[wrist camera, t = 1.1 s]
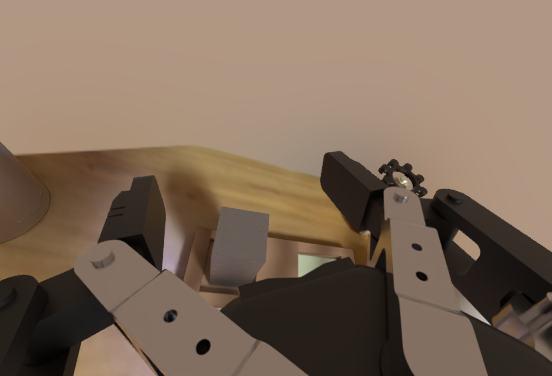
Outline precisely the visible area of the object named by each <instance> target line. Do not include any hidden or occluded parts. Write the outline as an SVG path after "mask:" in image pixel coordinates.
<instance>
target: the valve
mask: <svg viewBox="0 0 552 376" xmlns="http://www.w3.org/2000/svg"><path fill="white" fill-rule="evenodd" d="M389 166H391V168H390V167H389ZM411 170H412V166H411V165H410V164H408V163H406V164H405V165H404V166H402V167H401V166H399V163H398V161H397V160H395V159H392V160H391V161H390V162H389V163H388V164H387V165H386V164H384V165H382V166H381V167H380V168H379V170H378V171H379V173H380V174H382V173H383V172H384V173H386V175H385V176H384V177H383V179H382V180H381V181H382V182H384V183H385V184H386V185H387V186H388V187H401V188H406V186H407V185H408V184H409V180H408V178H409V179H410V180H411V182H412V184H413V189H412V190H410V191H412V192H413V193H415V194H416V193H418V195H417V194H416V195H417V196H418V197H419V198H421V197H423V196H424V195H426V194H427V190H426V189H425V188H424V187H421V186H420V185H419V184H420V183H421V182H423V181H424V177H423V176H422V175H414V174H413V173H412V172H411ZM395 171H396V172H401V173H403V174H405V175H399V176H398V177H395V178H393V175H392V174H393V172H395ZM369 233H370V232H369V231H368V230H366V231H362V232H360V234H361V235H363V236H366V235H369Z"/></svg>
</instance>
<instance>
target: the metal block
mask: <svg viewBox="0 0 552 376" xmlns="http://www.w3.org/2000/svg"><path fill="white" fill-rule="evenodd" d="M268 225H269V214H265V213H259V212H253V211H246V210H240V209H234V208H228V207H221V211H220V215H219V220H218V225H217V230H216V235H215V240H214V245H213V250H212V255H211V269H210V284H209V285H213V286H223V287H232V288H238V286H241V285H245V284H249V283H251V281H252V280H253V279H254V277H255V276H256V275H257V273H258V272H259V270H260V269H261V268H262V266H263V265H264V263H265V262H266V251H267V238H268Z"/></svg>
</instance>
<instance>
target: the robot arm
mask: <svg viewBox="0 0 552 376" xmlns="http://www.w3.org/2000/svg"><path fill="white" fill-rule="evenodd" d="M320 183H321V187H322V189H323V191H324V192H325V193H326V194H327V196H328V197H329V198H330V199H331V201H332V202H333V203H334V204H335V205H336V207H337V208H338V209H339V210H340V211H341V213H342V214H343V215H344V216H345V218H346V219H347V220H348V221H349V222H350V224H351V225H352V226H353V227H354V229H355V230H356V231H357V232H362V231H366V230H368V231H369V232H370V233H369V236H368V248H367V266H364V265H355V264H354V262H353V261H352V260H351V258H350V257H346V258H342V259H338V260H334V261H331V262H327V263H324V264H322V265H321V266H319V267H317V268H315V269H314V270H312V271H310V272H309V273H307V274H305V275H303V276H301V277H292V278H267V279H263V280H260V281H256V282H252V283H249V284H245V285H241V286H238V290H239V296H238V297H237V298H235V299H233V300H232V301H231V302H229V303H228V304H226V305H225V306H224V307H223V308H222V309H221V310H220V311H219V310H218V309H216V308H215V307H214V306H213V305H211V304H210V303H209V302H208V301H207V300H205V299H204V298H203V297H202V296H200V295H199V294H198V293H197V292H195V291H194V290H193V289H192V288H190V287H189V286H188V285H187V284H185V283H184V282H183V281H182V280H181V279H179V278H178V277H177V276H176V275H174V274H173V273H172V272H170V271H169V270H167V269H164V270H163V271H162V262H163V248H164V234H165V220H166V213H165V207H164V203H163V200H162V197H161V193H160V190H159V187H158V184H157V181H156V178H155V176H154V175H151V176H144V177H136V178H134V179H133V182H132V186H131V189H130V190H129V191H122V192H121V193H120V194H119V195H118V196H117V197H116V198H115V199H114V200H113V202H112V205H111V208H110V211H109V213H108V216H107V217H108V218H107V219H106V221H105V224H104V227H103V229H102V232H101V235H100V238H99V240H98V243H97V244H96V245H94V246H92V247H91V248H89V249H87V250H86V251H85V252H84V253H82V254H81V255H80V257H79V258H78V259H77V261H76V262H75V265H74V268H72V269H71V270H68V271H66V272H64V273H61V274H59V275H57V276H54V277H52V278H49V279H47V280H45V281H42V282H40V283H39V282H38V281H37V280H36V279H35V278H34V277H32V276H29V275H18V276H13V277H10V278H7V279H4V280H1V281H0V376H73V375H74V370H75V366H76V362H77V358H78V354H79V350H80V346H81V342H82V341H83V340H85V339H87V338H89V337H91V336H92V335H94V334H96V333H98V332H100V331H101V330H103V329H105V328H107V327H109V326H111V325H112V324H113V325H114V326H115V327H116V328H117V329H118V331H119V332H120V333H121V334H122V335H123V336H124V338H125V339H126V340H127V341H128V342H129V344H130V345H131V346H132V347H133V348H134V349H135V351H136V352H137V353H138V354H139V355H140V356H141V358H142V359H143V360H144V361H145V363H146V364H147V365H148V366H149V368H150V369H151V370H152V371H153V373H154V374H155V375H156V376H552V252H551V251H549V250H547V249H546V248H545V247H543V246H542V245H540V244H539V243H537V242H536V241H534V240H533V239H531V238H530V237H528V236H527V235H525V234H524V233H522V232H520V231H519V230H518V229H516V228H515V227H513V226H512V225H510V224H509V223H507V222H506V221H504V220H503V219H501V218H500V217H498V216H497V215H495V214H494V213H492V212H491V211H489V210H488V209H486V208H485V207H483V206H482V205H480V204H479V203H477V202H476V201H474V200H473V199H471V198H470V197H468V196H467V195H465V194H463V193H461V192H458V191H455V190H451V189H439V190H438V191H436V194H435V195H434V197H433V199H423V198H419V197H418V196H417V195H416V194H415V193H413V192H412V191H410V190H407V189H405V188H401V187H388V186H387V185H386V184H385V183H384V182H382V181H381V180H380V179H379V178H377V177H376V176H375V175H374V174H372V173H371V172H370V171H369V170H366V168H365V167H364V166H362V165H361V164H360V163H358V162H356V161H354V160H352V159H350V158H349V157H348V156H346V155H345V154H344V153H343V152H341V151H336V152H328V153H326V154H325V155H324V159H323V166H322V172H321V178H320ZM49 203H50V195H49V192H48V190H47V188H46V187H45V186H44V185H43V184H42V183H41V182H40V181H39V180H38V179H37V178H36V177H35V176H34V175H33V174H32V173H31V172H30V171H29V170H28V169H27V168H26V167H25V166H24V165H23V164H22V163H21V162H20V161H19V160H18V159H17V158H16V157H15V156H14V155H13V154H12V153H11V152H10V151H9V150H8V149H7V148H6V147H5V146H4V145H3V144H2V143H1V142H0V243H2V242H5V241H8V240H11V239H13V238H15V237H17V236H20V235H22V234H23V233H25V232H26V231H28V230H30V229H31V228H32V227H34V226H35V225H36V224H37V223H38V222H39V221H40V220H41V219H42V217H43V216H44V215H45V213H46V211H47V209H48V208H49ZM459 230H461V231H462V232H463V233H464V234H465V235H467V236H468V237H469V238H470V239H472V240H473V241H474V242H475V243H476V244H477V245H478V246H479V248H480V256H479V258H478V259H477V260H476V261H475V260H474V259H473V258H471V256H469V255H468V254H467V253H466V252H465V251H464V250H463V249H461V248H460V247H459V246H458V245H457V244H456V243H455V242H454V241H452V240H453V238H454V237H455V235H456V234H457V232H458V231H459ZM452 284H453V286H454V287H455V288H456V289H457V290H458V291H459V292H460V293H461V294H462V295H463V296H464V297H465V298H466V299H467V300H468V301H469V302H470V303H471V305H472V306H473V307H474V308H475V309H476V310H477V311H478V312H479V313H480V314H481V315H482V316H483V317H484V318H485V319H486V320H487V321H488V323H489V324H490V325H489V324H487V323H485V322H483V321H481V320H479V319H477V318H475V317H473V316H471V315H469V314H467V313H465V312H463V311H461V310H460V309H459V307H458V304H457V300H456V296H455V293H454V289H453V286H452Z"/></svg>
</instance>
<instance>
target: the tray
mask: <svg viewBox="0 0 552 376" xmlns="http://www.w3.org/2000/svg"><path fill="white" fill-rule="evenodd" d="M215 235H216V230H213V229H206V228H199V227H197V229H196V233H195V236H194V240H193V244H192V248H191V252H190V256H189V260H188V264H187V268H186V272H185V276H184V280H183V282H184V283H185V284H187V285H188V286H189V287H190V288H192V289H193V290H194V291H195V292H197V293H198V294H199V295H200V296H202V297H203V298H204V299H205V300H207V301H208V302H209V303H210V304H211V305H213V306H214V307H217V308H223V307H224V306H225V305H226V304H228V303H229V302H231V301H232V300H233V299H235V298H237V297H238V296H239V290H238V288H232V287H223V286H213V285H209V284H210V269H211V255H212V250H213V245H214V240H215ZM346 257H350V258H351V260H352V261H353V262H354V264H355V259H354V252H353V249H346V248H339V247H332V246H325V245H318V244H311V243H304V242H297V241H290V240H283V239H276V238H269V237H268V238H267V251H266V262H265V263H264V265H263V266H262V268H261V269H260V270H259V272H258V273H257V275H256V276H255V277H254V279H253V280H252V281H251V283H252V282H256V281H260V280H263V279H267V278H292V277H301V276H303V275H305V274H307V273H309V272H310V271H312V270H314V269H315V268H317V267H319V266H321V265H322V264H324V263H327V262H331V261H334V260H338V259H342V258H346Z"/></svg>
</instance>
